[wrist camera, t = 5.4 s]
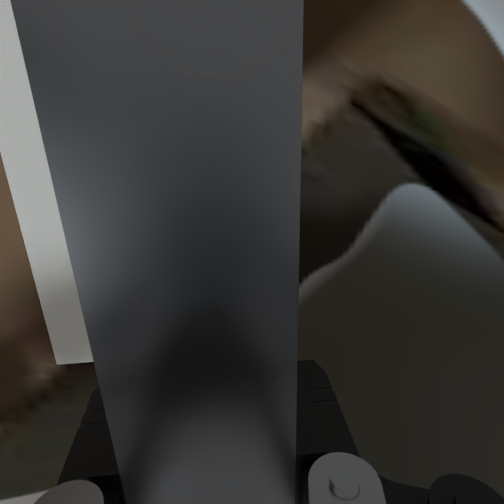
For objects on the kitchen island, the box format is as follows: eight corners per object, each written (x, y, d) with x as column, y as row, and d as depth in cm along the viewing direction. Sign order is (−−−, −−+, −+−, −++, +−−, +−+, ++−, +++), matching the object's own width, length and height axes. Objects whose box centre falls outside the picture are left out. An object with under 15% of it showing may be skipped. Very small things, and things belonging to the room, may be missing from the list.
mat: (-37, -7, 23) (-43, -9, 22) (87, -8, 24) (84, -11, 23) (59, 359, 33) (56, 364, 32) (144, 353, 33) (143, 357, 33)
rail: (55, -186, 6) (-92, -444, 3) (264, -183, 6) (310, -417, 3) (192, 640, 14) (188, 773, 11) (275, 629, 14) (290, 756, 12)
